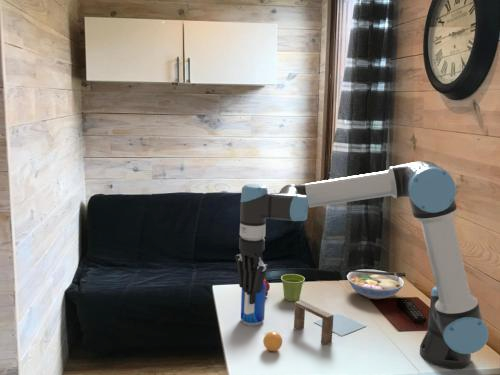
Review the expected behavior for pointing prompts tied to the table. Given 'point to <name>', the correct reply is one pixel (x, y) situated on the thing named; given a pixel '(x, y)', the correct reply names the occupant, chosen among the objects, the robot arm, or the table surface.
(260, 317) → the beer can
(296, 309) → the bridge
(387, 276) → the ramen bowl
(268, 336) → the ball
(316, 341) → the table surface
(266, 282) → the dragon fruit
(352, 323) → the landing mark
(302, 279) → the plant pot
